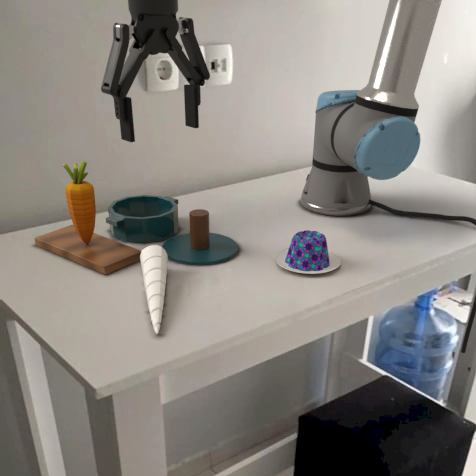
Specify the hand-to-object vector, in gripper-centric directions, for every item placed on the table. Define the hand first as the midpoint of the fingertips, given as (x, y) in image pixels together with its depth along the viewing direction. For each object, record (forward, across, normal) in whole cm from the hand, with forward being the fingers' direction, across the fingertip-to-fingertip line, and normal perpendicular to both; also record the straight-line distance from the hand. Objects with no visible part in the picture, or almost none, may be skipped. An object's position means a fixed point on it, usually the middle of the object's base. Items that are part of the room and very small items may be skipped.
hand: (161, 133), depth 107 cm
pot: (+21, +3, +11) cm, 24 cm away
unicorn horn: (+21, -13, -14) cm, 29 cm away
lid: (+21, +5, -4) cm, 22 cm away
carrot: (+19, -12, +9) cm, 24 cm away
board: (+21, -12, +9) cm, 25 cm away
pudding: (+21, +15, -22) cm, 34 cm away
